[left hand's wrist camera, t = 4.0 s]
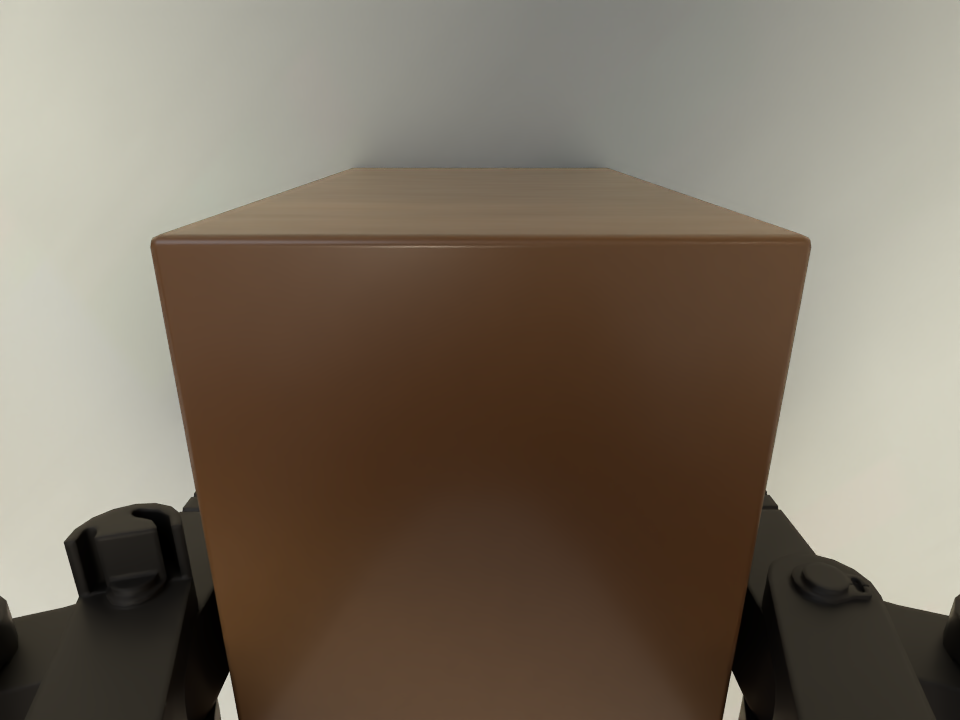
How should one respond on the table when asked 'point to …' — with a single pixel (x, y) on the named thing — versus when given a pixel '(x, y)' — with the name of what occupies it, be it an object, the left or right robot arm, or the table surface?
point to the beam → (480, 439)
